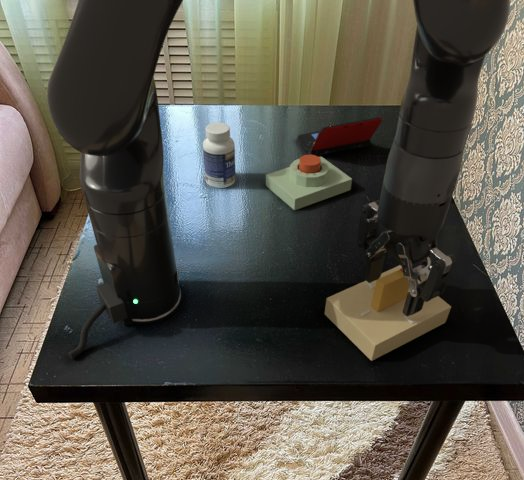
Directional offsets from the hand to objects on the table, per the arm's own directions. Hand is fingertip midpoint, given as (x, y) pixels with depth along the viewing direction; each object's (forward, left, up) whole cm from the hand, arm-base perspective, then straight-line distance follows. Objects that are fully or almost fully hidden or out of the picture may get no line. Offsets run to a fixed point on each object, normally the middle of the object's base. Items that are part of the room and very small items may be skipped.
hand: (390, 295), depth 70 cm
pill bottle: (-2, +42, -4) cm, 42 cm away
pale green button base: (+10, +32, -4) cm, 34 cm away
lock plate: (0, 0, -4) cm, 4 cm away
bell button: (+10, +32, -1) cm, 34 cm away
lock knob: (0, 0, -1) cm, 1 cm away
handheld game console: (+23, +41, -4) cm, 47 cm away
